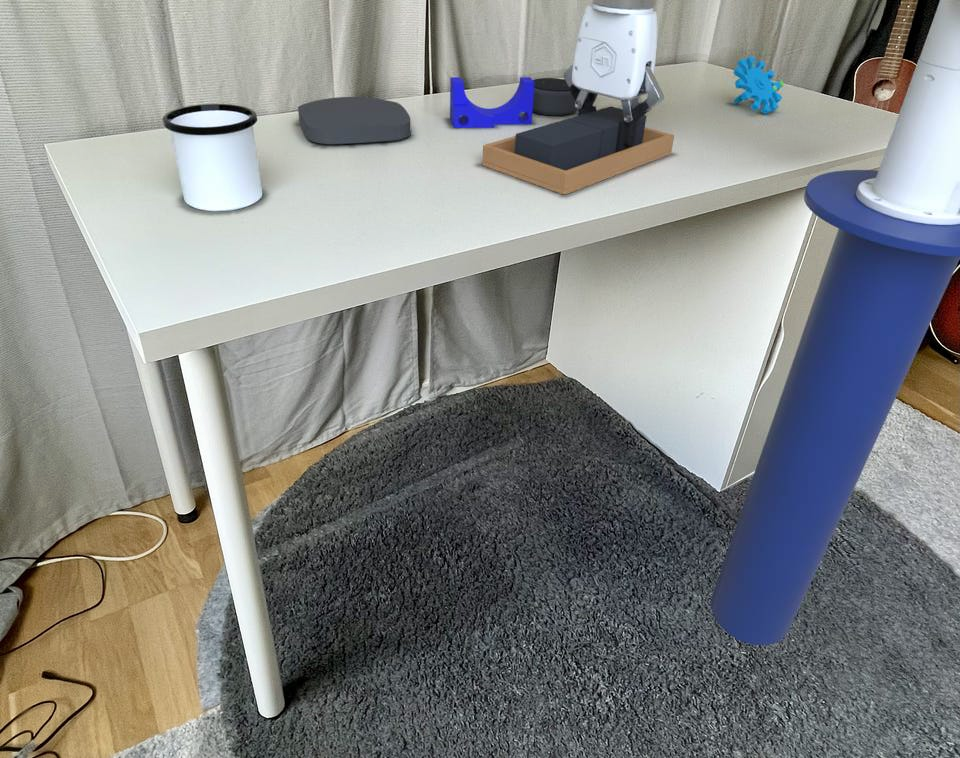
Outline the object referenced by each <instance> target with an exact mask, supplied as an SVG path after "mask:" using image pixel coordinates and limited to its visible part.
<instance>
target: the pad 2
mask: <svg viewBox="0 0 960 758" xmlns="http://www.w3.org/2000/svg"><path fill="white" fill-rule="evenodd" d="M566 120H569V121H573V122H576V123H580V124H583V125H587V126H590V127H594V128H597V129H601V130H602V136H601V144H600V152H599V159H600V158H603V157H606V156H609V155H611V154H614V153H617V151H616V145H617V138H618V131H619V122H620V121H623V120H624V117H623V110H622V108H619V107H615V106H611V105H610V106H606V107H603V108H600V109H596V111H593V112H589V113H586V114H582V115H579V116H578V115H575V116H572V117H569V118H567V119H566ZM646 123H647V114H645V115H644V116H643V117H642V118H641V119H639V120H638V124H637V130H636V136H635V142H634V144H633V146H632V147H634V146H637V145H640V144H642V141H643V135H644V129H645V127H646Z"/></svg>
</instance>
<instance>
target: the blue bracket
mask: <svg viewBox="0 0 960 758" xmlns="http://www.w3.org/2000/svg"><path fill="white" fill-rule="evenodd" d="M533 80H534V79H532V78H531V77H530V76H520V77H519V83H518V86H517V88H516V91H515V92H514V94H513V96H511V98H510V99H509V100H508V101H507V102H505V103H503V104H502V105H500V106H497V107H493V108H486V107H481V106H479V105H476V104H474V103H473V102H472V101H471V100H470V99H469V98H468V97H467V95H466V91H465V85H464V84H465V82H464V80H463V78H462V77H460V76H458V77H457V76H453V77H452V76H451V77H450V80H449V82H450V83H449V84H450V85H449V86H450V87H449V89H450V90H449V120H450V122H451V125H452V127H453V128H454V129H469V128H470V129H475V128H476V129H480V128H481V129H482V128H495V125H532V123H533V122H532V121H533V111H532V110H533V97H534V84H535V82H534V81H533ZM522 113H523V114H522Z"/></svg>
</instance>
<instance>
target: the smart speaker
mask: <svg viewBox="0 0 960 758" xmlns="http://www.w3.org/2000/svg"><path fill="white" fill-rule="evenodd" d="M532 80H533V81H534V82H535V84H534V97H533V110H532V113H535V114H538V115H544V116H550V117H551V116H552V117H553V116H554V117H558V116H568V115H571V114H574V113H576V112H578V109H577V108H576V106H575V102H576V101H575V100H574V98H573V96H572V94H571V92H570V87H568V85H567V83H566V81H565V79H564V78H556V77H554V78H553V77H543V78H542V77H541V78H535V79H532Z"/></svg>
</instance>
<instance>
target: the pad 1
mask: <svg viewBox="0 0 960 758" xmlns="http://www.w3.org/2000/svg"><path fill="white" fill-rule="evenodd" d="M515 136H516V138H515V154H518V155H521V156H523V157H526V158H529V159H532V160H535V161H538V162H541V163H544V164H547V165H550V166H553V167H556V168H559V169H562V170H565V171H566V170H569V169H572V168H575V167H577V166H580V165H583V164H586V163H589V162H592V161H594V160H597V159H599V152H600V144H601V136H602V130H601V129H597V128H594V127H590V126H587V125H583V124H580V123H576V122H573V121H569V120H567V119H562V120H560V121H556V122H551V123H549V124H545V125H541V126H538V127H534V128H531V129H528V130H525V131H520V132H517V133H515Z"/></svg>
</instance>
